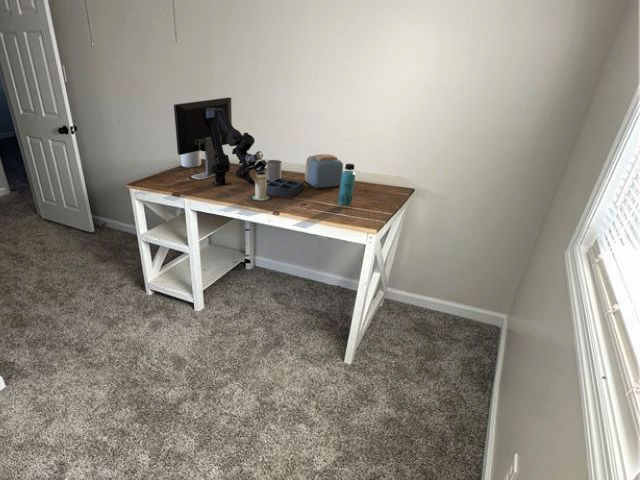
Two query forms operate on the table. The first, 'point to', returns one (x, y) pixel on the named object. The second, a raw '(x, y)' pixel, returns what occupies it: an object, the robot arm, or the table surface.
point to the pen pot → (260, 185)
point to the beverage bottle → (347, 186)
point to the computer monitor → (199, 130)
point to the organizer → (284, 187)
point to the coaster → (261, 199)
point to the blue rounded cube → (323, 171)
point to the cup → (273, 169)
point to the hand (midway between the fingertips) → (260, 182)
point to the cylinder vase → (191, 159)
